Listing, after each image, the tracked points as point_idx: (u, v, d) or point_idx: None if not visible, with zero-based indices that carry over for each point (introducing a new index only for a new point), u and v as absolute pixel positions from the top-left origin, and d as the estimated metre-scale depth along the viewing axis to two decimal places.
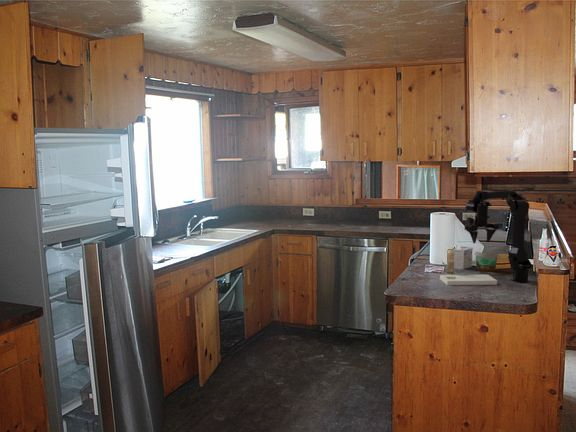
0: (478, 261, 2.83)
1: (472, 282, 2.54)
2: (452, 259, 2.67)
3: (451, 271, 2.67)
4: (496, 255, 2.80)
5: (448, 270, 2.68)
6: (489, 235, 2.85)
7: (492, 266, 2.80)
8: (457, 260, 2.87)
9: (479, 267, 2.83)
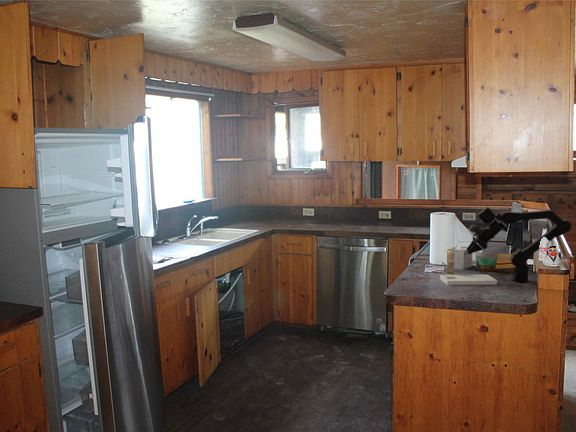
0: (478, 261, 2.83)
1: (472, 282, 2.54)
2: (452, 259, 2.67)
3: (451, 271, 2.67)
4: (496, 255, 2.80)
5: (448, 270, 2.68)
6: None
7: (492, 266, 2.80)
8: (457, 260, 2.87)
9: (479, 267, 2.83)
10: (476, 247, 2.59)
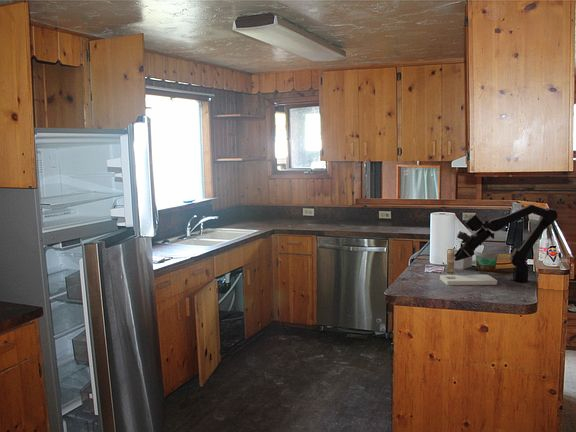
0: (478, 261, 2.83)
1: (472, 282, 2.54)
2: (452, 259, 2.67)
3: (451, 271, 2.67)
4: (496, 255, 2.80)
5: (448, 270, 2.68)
6: None
7: (492, 266, 2.80)
8: None
9: (479, 267, 2.83)
10: (463, 254, 2.61)
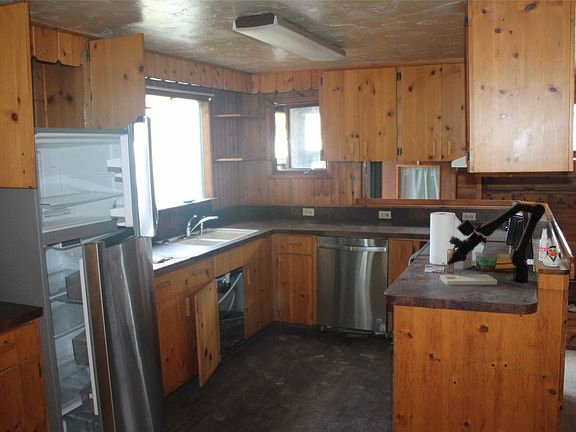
0: (478, 261, 2.83)
1: (472, 282, 2.54)
2: None
3: (451, 271, 2.67)
4: (496, 255, 2.80)
5: (448, 270, 2.68)
6: None
7: (492, 266, 2.80)
8: None
9: (479, 267, 2.83)
10: (455, 258, 2.65)
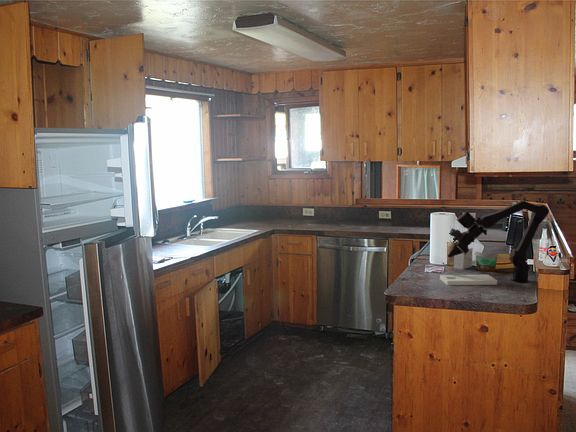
0: (478, 261, 2.83)
1: (472, 282, 2.54)
2: None
3: (452, 264, 2.64)
4: (496, 255, 2.80)
5: (448, 263, 2.64)
6: None
7: (492, 266, 2.80)
8: (457, 260, 2.87)
9: (479, 267, 2.83)
10: (456, 250, 2.61)
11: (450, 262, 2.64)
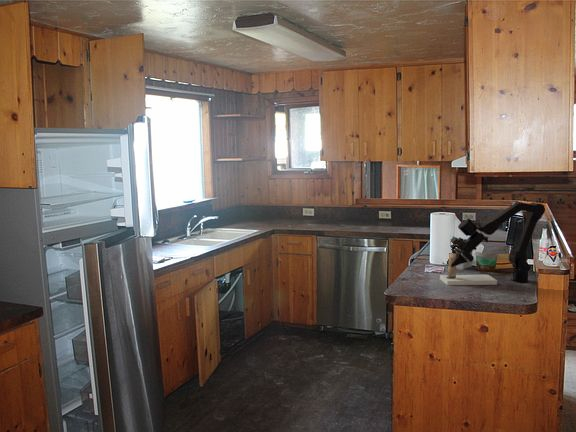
0: (478, 261, 2.83)
1: (472, 282, 2.54)
2: None
3: (454, 276, 2.58)
4: (496, 255, 2.80)
5: (451, 275, 2.58)
6: None
7: (492, 266, 2.80)
8: None
9: (479, 267, 2.83)
10: (460, 259, 2.54)
11: (452, 274, 2.58)
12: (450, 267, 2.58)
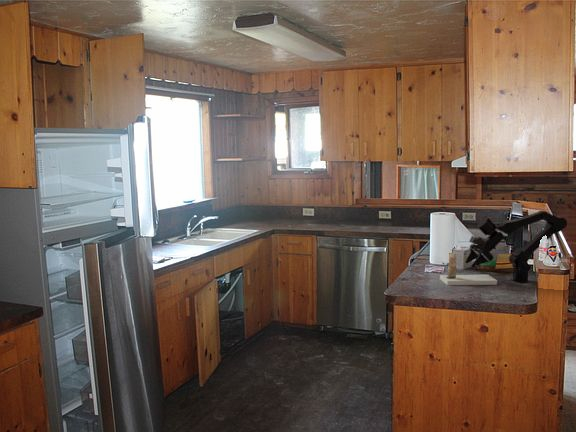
0: None
1: (472, 282, 2.54)
2: (455, 263, 2.57)
3: (454, 276, 2.58)
4: (496, 255, 2.80)
5: (451, 275, 2.58)
6: (472, 258, 2.63)
7: (492, 266, 2.80)
8: (457, 260, 2.87)
9: (479, 267, 2.83)
10: (481, 259, 2.53)
11: (452, 274, 2.58)
12: (450, 267, 2.58)
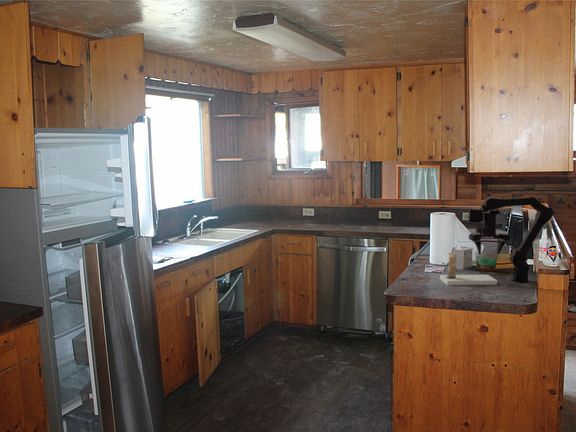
0: (478, 261, 2.83)
1: (472, 282, 2.54)
2: (455, 263, 2.57)
3: (454, 276, 2.58)
4: (496, 255, 2.80)
5: (451, 275, 2.58)
6: (499, 247, 2.60)
7: (492, 266, 2.80)
8: (457, 260, 2.87)
9: (479, 267, 2.83)
10: (477, 244, 2.60)
11: (452, 274, 2.58)
12: (450, 267, 2.58)
